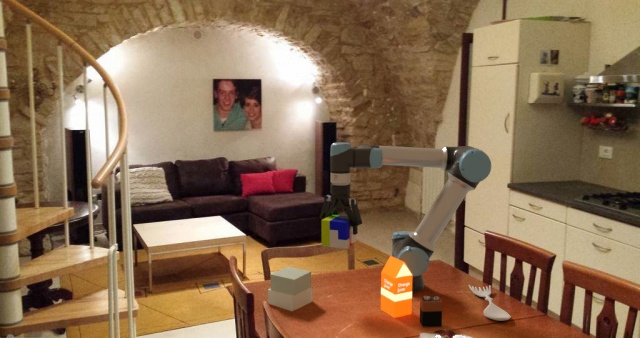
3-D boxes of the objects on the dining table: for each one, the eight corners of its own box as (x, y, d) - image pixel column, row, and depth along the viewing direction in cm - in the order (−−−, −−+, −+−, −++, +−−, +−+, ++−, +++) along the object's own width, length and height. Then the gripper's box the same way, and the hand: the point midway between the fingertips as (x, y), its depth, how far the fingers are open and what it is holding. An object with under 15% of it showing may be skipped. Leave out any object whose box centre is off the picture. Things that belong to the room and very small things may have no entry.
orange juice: (394, 318, 193) (395, 263, 190) (380, 309, 200) (381, 256, 198) (412, 314, 196) (413, 260, 193) (397, 305, 204) (398, 254, 201)
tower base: (312, 302, 208) (312, 287, 207) (292, 312, 198) (292, 296, 198) (288, 295, 215) (288, 280, 214) (268, 304, 206) (267, 289, 205)
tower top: (311, 286, 208) (311, 271, 207) (294, 295, 198) (294, 279, 198) (287, 281, 214) (287, 266, 213) (270, 289, 204) (270, 274, 204)
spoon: (490, 292, 219) (490, 283, 218) (514, 325, 187) (514, 316, 187) (467, 291, 219) (467, 283, 219) (487, 325, 188) (488, 315, 187)
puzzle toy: (346, 249, 200) (346, 222, 199) (321, 246, 204) (321, 220, 203) (355, 242, 209) (355, 216, 208) (331, 239, 213) (331, 214, 212)
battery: (419, 322, 189) (419, 294, 188) (438, 321, 190) (439, 294, 188) (422, 327, 185) (423, 299, 183) (442, 327, 185) (442, 298, 184)
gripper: (310, 181, 209) (310, 237, 212) (360, 188, 195) (360, 247, 198) (321, 179, 215) (322, 233, 218) (372, 185, 201) (371, 242, 204)
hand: (340, 240), depth 208 cm, fingers closed on puzzle toy, 11 cm apart
